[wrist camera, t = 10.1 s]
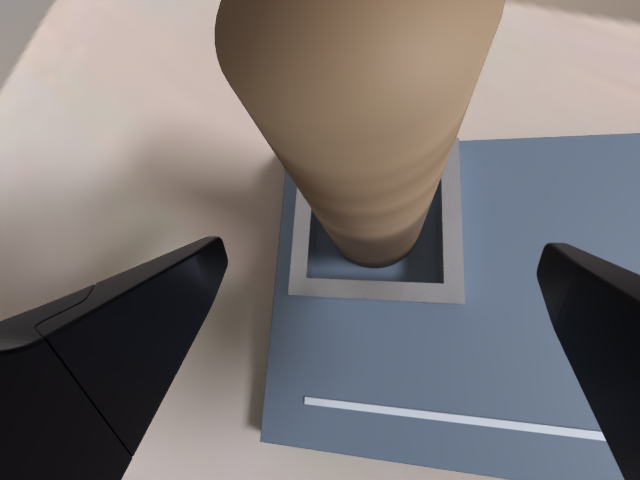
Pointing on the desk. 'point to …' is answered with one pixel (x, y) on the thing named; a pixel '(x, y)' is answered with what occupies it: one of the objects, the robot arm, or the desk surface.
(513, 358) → the board
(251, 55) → the tan wooden peg
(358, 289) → the metal collar
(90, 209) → the desk surface
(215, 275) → the robot arm
